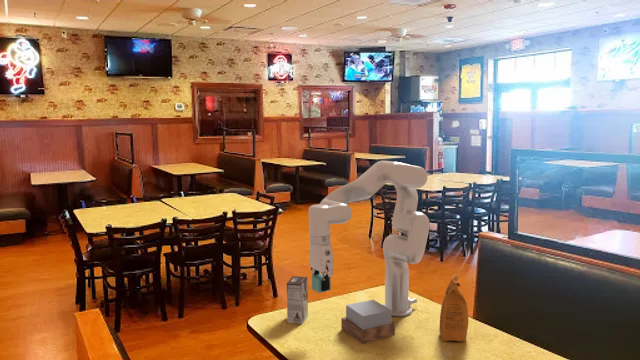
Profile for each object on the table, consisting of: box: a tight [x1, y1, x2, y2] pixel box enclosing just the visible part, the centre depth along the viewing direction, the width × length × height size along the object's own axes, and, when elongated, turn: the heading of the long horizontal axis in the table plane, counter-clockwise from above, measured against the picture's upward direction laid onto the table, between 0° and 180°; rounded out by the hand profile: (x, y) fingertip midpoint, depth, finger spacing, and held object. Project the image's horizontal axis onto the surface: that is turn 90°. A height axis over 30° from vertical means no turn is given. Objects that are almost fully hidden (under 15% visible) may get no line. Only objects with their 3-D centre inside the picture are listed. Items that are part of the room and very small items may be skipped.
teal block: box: [311, 273, 332, 294], centre depth 177 cm, size 5×5×5 cm
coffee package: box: [439, 273, 469, 342], centre depth 176 cm, size 10×12×22 cm
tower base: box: [340, 316, 396, 345], centre depth 181 cm, size 14×14×5 cm
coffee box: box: [286, 275, 309, 325], centre depth 192 cm, size 9×6×16 cm
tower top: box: [345, 299, 392, 330], centre depth 180 cm, size 12×12×5 cm
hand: (321, 287), depth 177 cm, fingers closed on teal block, 5 cm apart
